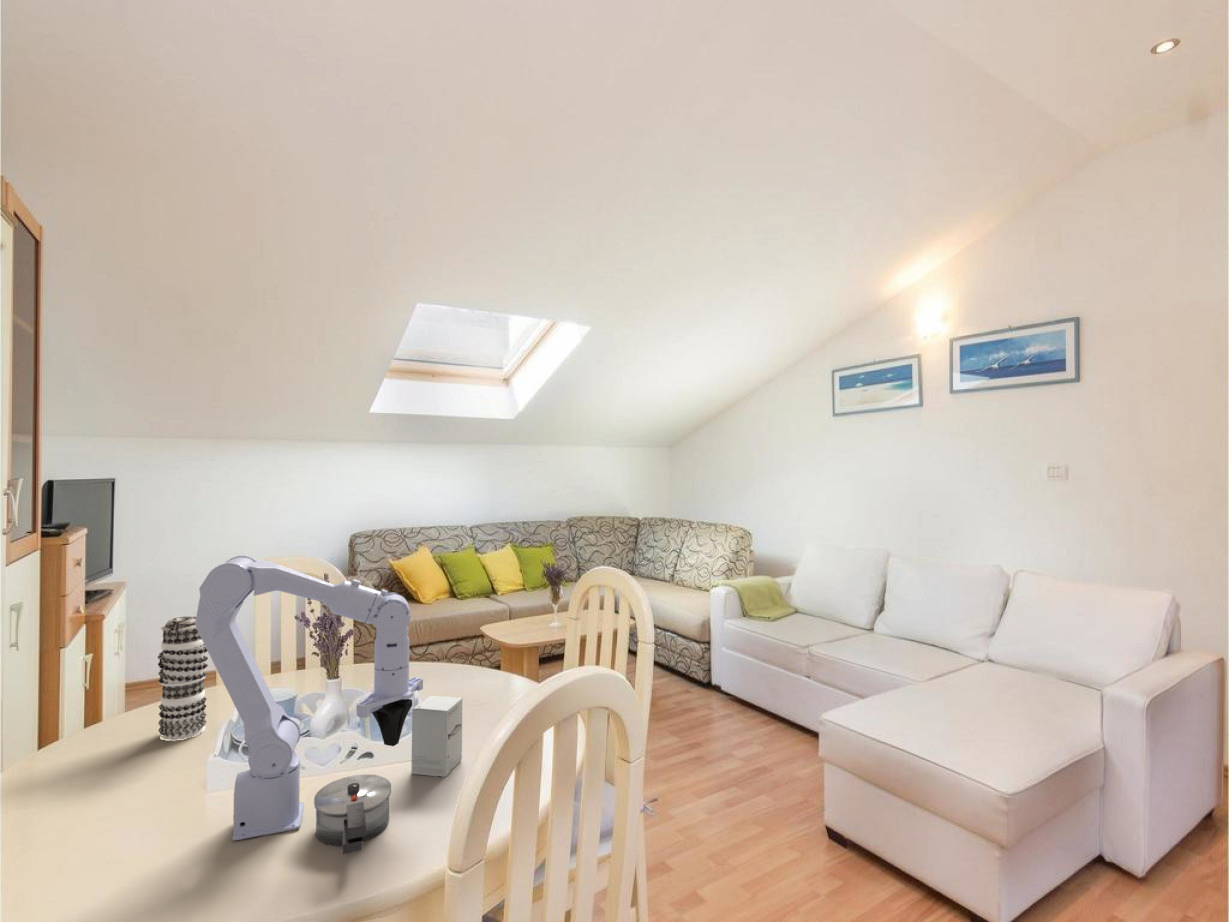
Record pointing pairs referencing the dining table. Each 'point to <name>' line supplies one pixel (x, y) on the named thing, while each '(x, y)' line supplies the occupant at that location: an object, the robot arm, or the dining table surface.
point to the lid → (353, 799)
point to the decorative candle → (182, 680)
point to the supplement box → (436, 735)
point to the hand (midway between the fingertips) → (391, 743)
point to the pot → (336, 832)
